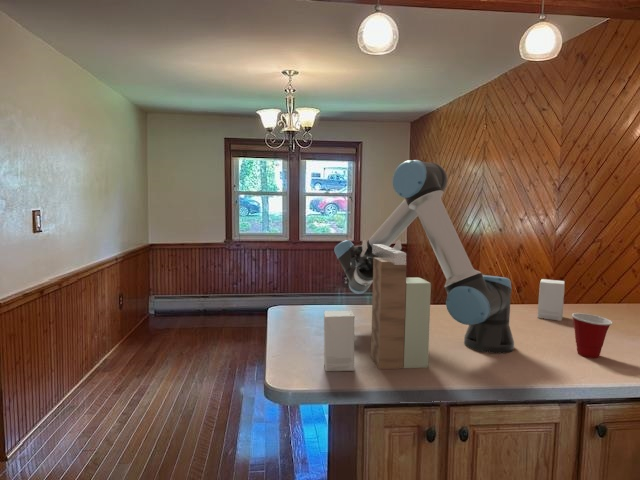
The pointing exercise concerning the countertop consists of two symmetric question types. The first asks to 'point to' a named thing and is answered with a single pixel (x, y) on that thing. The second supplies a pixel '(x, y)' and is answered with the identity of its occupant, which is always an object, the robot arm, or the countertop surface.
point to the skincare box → (339, 340)
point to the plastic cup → (590, 333)
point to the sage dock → (416, 323)
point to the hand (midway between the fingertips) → (382, 244)
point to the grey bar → (389, 254)
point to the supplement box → (551, 299)
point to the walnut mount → (388, 314)
